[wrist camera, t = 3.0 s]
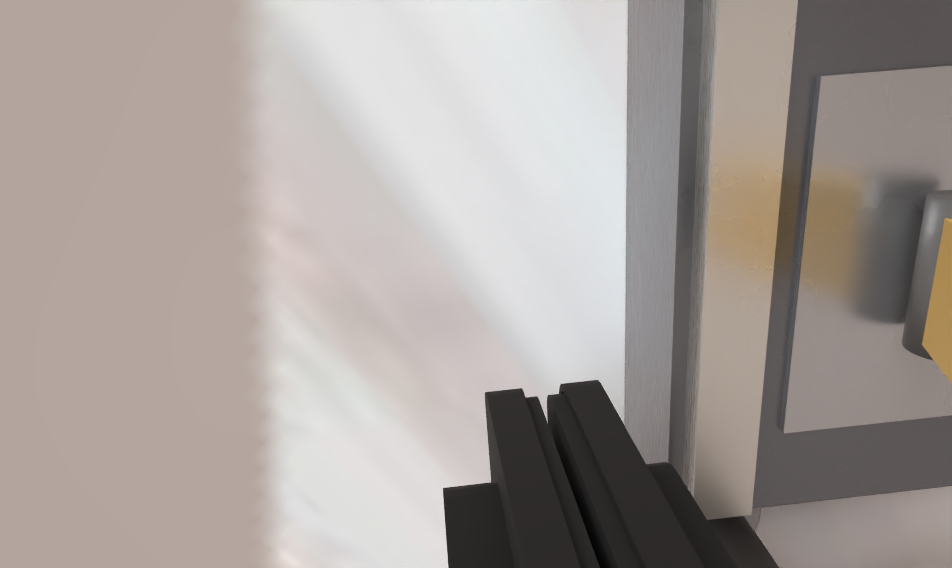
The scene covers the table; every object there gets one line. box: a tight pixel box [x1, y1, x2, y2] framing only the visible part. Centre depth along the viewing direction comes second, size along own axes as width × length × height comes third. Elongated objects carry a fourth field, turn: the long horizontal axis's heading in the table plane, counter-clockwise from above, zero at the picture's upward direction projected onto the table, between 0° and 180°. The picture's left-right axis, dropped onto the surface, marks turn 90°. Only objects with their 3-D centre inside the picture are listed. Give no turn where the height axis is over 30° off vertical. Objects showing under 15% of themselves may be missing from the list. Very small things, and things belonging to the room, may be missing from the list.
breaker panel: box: [625, 0, 952, 520], centre depth 18 cm, size 16×14×5 cm
